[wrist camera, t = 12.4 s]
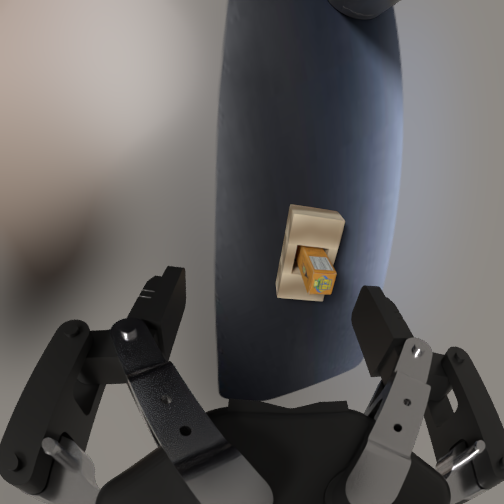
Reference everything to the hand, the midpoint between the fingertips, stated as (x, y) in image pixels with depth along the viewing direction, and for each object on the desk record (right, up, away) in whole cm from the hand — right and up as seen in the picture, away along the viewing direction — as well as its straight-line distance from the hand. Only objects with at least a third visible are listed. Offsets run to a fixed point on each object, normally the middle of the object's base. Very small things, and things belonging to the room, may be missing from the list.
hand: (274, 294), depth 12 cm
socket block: (+7, +2, +29) cm, 30 cm away
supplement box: (+7, +3, +30) cm, 31 cm away
